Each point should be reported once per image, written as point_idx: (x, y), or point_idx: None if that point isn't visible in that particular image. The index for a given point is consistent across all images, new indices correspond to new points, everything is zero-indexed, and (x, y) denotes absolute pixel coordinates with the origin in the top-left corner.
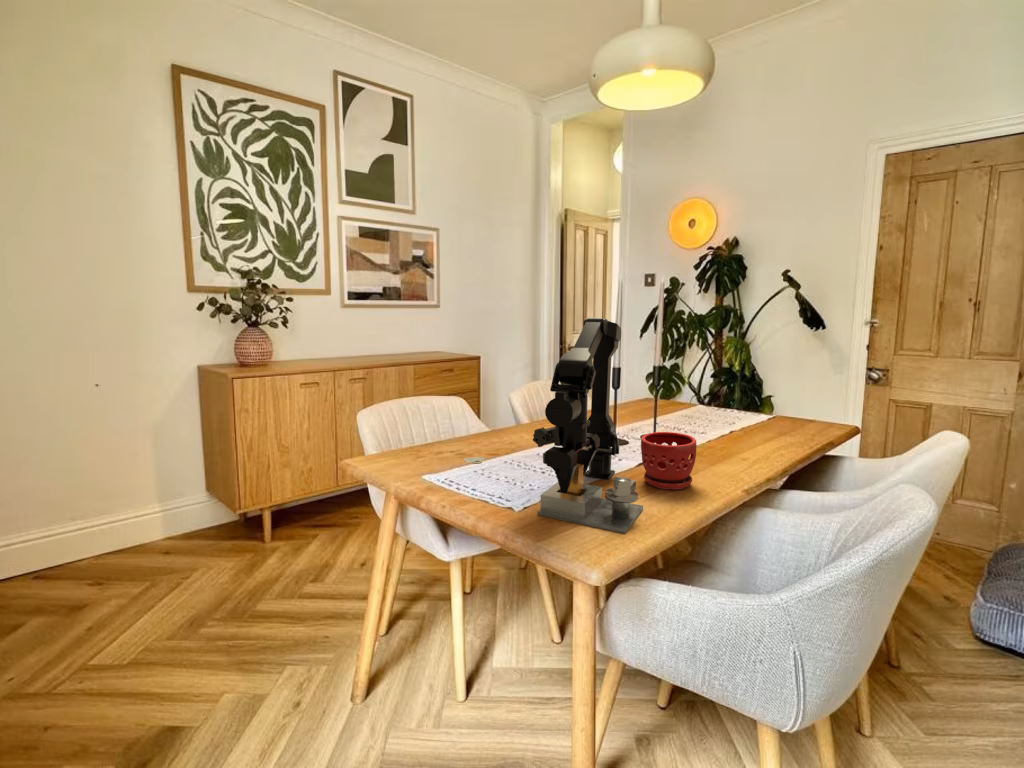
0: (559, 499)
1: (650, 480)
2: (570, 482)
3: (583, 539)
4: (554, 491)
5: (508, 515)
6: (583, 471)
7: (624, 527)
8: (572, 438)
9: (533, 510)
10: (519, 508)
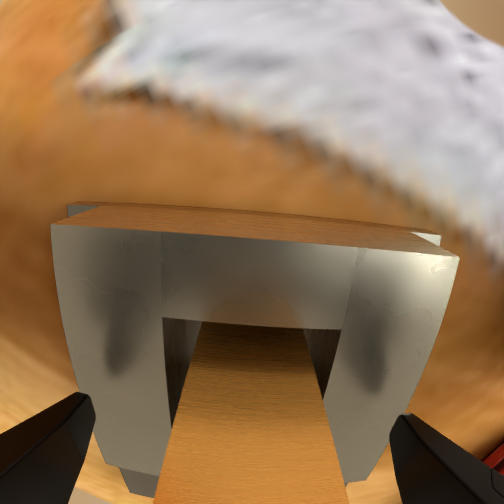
0: (74, 359)
1: (499, 460)
2: (65, 492)
3: (30, 404)
4: (163, 303)
5: (32, 80)
6: (405, 494)
7: (141, 493)
8: None
9: (122, 153)
10: (120, 72)
